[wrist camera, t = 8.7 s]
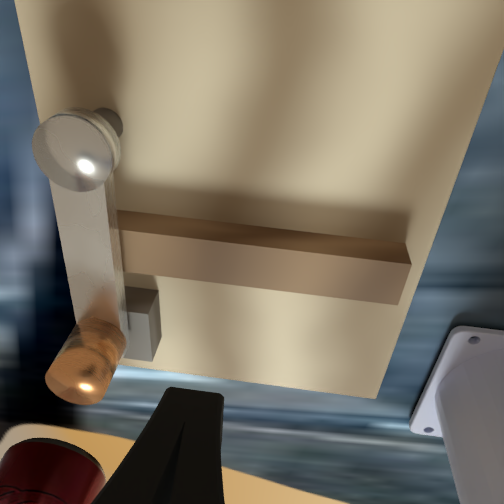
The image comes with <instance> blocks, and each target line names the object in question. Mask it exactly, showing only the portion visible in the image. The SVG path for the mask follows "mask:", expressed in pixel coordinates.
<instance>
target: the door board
mask: <svg viewBox="0 0 504 504" xmlns="http://www.w3.org/2000/svg"><path fill="white" fill-rule="evenodd" d="M15 5H16V10H17V15H18V20H19V24H20V29H21V34H22V39H23V44H24V48H25V53H26V58H27V63H28V68H29V72H30V77H31V82H32V87H33V92H34V96H35V101H36V106H37V111H38V116H39V120H40V124H42V123H43V122H44V121H46V120H47V119H49V118H50V117H52V116H53V115H55V114H56V113H57V112H59V111H61V110H63V109H65V108H69V107H81V108H86V109H89V110H91V111H94V112H96V113H97V114H99V115H100V116H102V117H103V118H104V119H105V120H106V121H107V122H108V123H109V124H110V125H111V126H112V127H113V129H114V130H115V132H116V134H117V136H118V138H119V141H120V145H121V158H120V162H119V164H118V166H117V168H116V169H115V170H114V171H113V176H114V186H115V197H116V207H117V217H118V227H119V238H120V248H121V258H122V268H123V279H124V289H125V299H126V309H127V320H128V330H129V340H130V345H129V347H128V349H127V351H126V354H125V356H124V358H121V359H120V362H119V365H126V366H134V367H141V368H149V369H156V370H163V371H171V372H178V373H186V374H193V375H201V376H208V377H216V378H223V379H230V380H238V381H245V382H253V383H260V384H268V385H275V386H283V387H290V388H297V389H305V390H312V391H320V392H327V393H335V394H342V395H349V396H357V397H364V398H372V399H376V397H377V394H378V391H379V388H380V386H381V383H382V380H383V377H384V375H385V372H386V369H387V366H388V364H389V361H390V358H391V356H392V353H393V350H394V347H395V345H396V342H397V339H398V336H399V334H400V331H401V328H402V325H403V323H404V320H405V317H406V315H407V312H408V309H409V306H410V304H411V301H412V298H413V295H414V293H415V290H416V287H417V284H418V282H419V279H420V276H421V274H422V271H423V268H424V265H425V263H426V260H427V257H428V254H429V252H430V249H431V246H432V243H433V241H434V238H435V235H436V233H437V230H438V227H439V224H440V222H441V219H442V216H443V213H444V211H445V208H446V205H447V203H448V200H449V197H450V194H451V192H452V189H453V186H454V183H455V181H456V178H457V175H458V172H459V170H460V167H461V164H462V162H463V159H464V156H465V153H466V151H467V148H468V145H469V142H470V140H471V137H472V134H473V131H474V129H475V126H476V123H477V121H478V118H479V115H480V112H481V110H482V107H483V104H484V101H485V99H486V96H487V93H488V90H489V88H490V85H491V82H492V80H493V77H494V74H495V71H496V69H497V66H498V63H499V60H500V58H501V55H502V52H503V49H504V0H15Z"/></svg>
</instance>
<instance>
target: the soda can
mask: <svg viewBox="0 0 504 504" xmlns="http://www.w3.org/2000/svg"><path fill="white" fill-rule="evenodd" d="M105 484H106V479H105V474H104V472H103V469H102V467H101V465H100V464H99V462H98V461H97V460H96V459H95V458H94V457H93V456H92V455H91V454H89V453H88V452H86V451H85V450H83V449H81V448H79V447H77V446H75V445H73V444H70V443H68V442H64V441H61V440H57V439H51V438H32V439H27V440H24V441H21V442H19V443H17V444H15V445H13V446H11V447H10V448H9V449H8V450H7V451H6V453H5V454H4V456H3V458H2V459H1V461H0V504H91V503H92V501H93V500H94V499H95V497H96V496H97V495H98V493H99V492H100V491H101V490H102V488H103V487H104V486H105Z"/></svg>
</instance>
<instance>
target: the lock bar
mask: <svg viewBox="0 0 504 504" xmlns="http://www.w3.org/2000/svg"><path fill="white" fill-rule="evenodd" d="M32 150H33V154H34V157H35V160H36V162H37V164H38V166H39V167H40V169H41V170H42V172H43V173H44V174H45V175H46V176H47V177H48V178H49V181H50V186H51V192H52V197H53V202H54V207H55V213H56V218H57V223H58V228H59V234H60V239H61V244H62V249H63V255H64V260H65V265H66V271H67V276H68V281H69V286H70V292H71V297H72V302H73V307H74V313H75V318H76V323H77V324H76V325H75V327H74V329H73V330H72V332H71V334H70V335H69V337H68V339H67V340H66V342H65V343H64V345H63V347H62V348H61V350H60V352H59V353H58V355H57V357H56V358H55V360H54V362H53V363H52V365H51V366H50V368H49V370H48V371H47V373H46V376H45V380H46V384H47V386H48V387H49V389H50V390H51V391H52V392H53V393H54V394H56V395H57V396H58V397H60V398H62V399H64V400H66V401H68V402H71V403H75V404H81V405H90V404H95V403H97V402H99V401H100V400H102V398H103V397H104V395H105V392H106V390H107V388H108V386H109V384H110V381H111V379H112V377H113V375H114V373H115V370H116V368H117V366H118V364H119V362H120V359H121V358H124V356H125V354H126V351H127V349H128V347H129V345H130V340H129V330H128V320H127V309H126V299H125V289H124V279H123V268H122V258H121V248H120V238H119V227H118V217H117V207H116V197H115V186H114V176H113V171H114V170H115V169H116V168H117V166H118V164H119V162H120V158H121V145H120V141H119V138H118V136H117V134H116V132H115V130H114V129H113V127H112V126H111V125H110V124H109V123H108V122H107V121H106V120H105V119H104V118H103V117H102V116H100V115H99V114H97V113H96V112H94V111H91V110H89V109H86V108H81V107H69V108H65V109H63V110H61V111H59V112H57V113H56V114H55V115H53V116H52V117H50V118H49V119H47V120H46V121H44V122H43V123H42V124H40V125H39V126H38V128H37V129H36V131H35V133H34V135H33V139H32Z"/></svg>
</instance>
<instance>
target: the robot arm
mask: <svg viewBox="0 0 504 504" xmlns="http://www.w3.org/2000/svg"><path fill="white" fill-rule="evenodd" d="M473 336H476V337H474V338H471V337H473ZM223 409H224V397H223V396H222V395H221V394H220V393H212V392H205V391H198V390H190V389H183V388H176V387H169V388H168V389H166V391H165V393H164V395H163V397H162V399H161V400H160V402H159V404H158V406H157V408H156V409H155V411H154V413H153V415H152V416H151V418H150V420H149V421H148V423H147V424H146V426H145V428H144V429H143V431H142V432H141V434H140V435H139V437H138V439H137V440H136V442H135V443H134V445H133V446H132V448H131V449H130V450H129V452H128V454H127V455H126V456H125V458H124V459H123V461H122V462H121V464H120V465H119V467H118V468H117V469H116V471H115V472H114V474H113V475H112V476H111V478H110V479H109V481H108V482H107V483H106V484H105V486H104V487H103V488H102V490H101V491H100V492H99V493H98V495H97V496H96V497H95V499H94V500H93V501H92V503H91V504H225V503H224V493H223V481H222V469H221V442H222V428H223ZM409 427H410V430H411V431H412V432H414V433H417V434H424V435H431V436H438V437H443V440H444V443H445V447H446V451H447V455H448V459H449V462H450V466H451V470H452V474H453V478H454V481H455V485H456V489H457V493H458V497H459V500H460V504H504V331H502V330H494V329H486V328H478V327H470V326H458V327H455V328H454V329H452V330H451V332H450V333H449V336H448V338H447V340H446V342H445V344H444V347H443V349H442V351H441V353H440V355H439V358H438V360H437V362H436V364H435V366H434V369H433V371H432V373H431V375H430V377H429V379H428V382H427V384H426V386H425V388H424V390H423V393H422V395H421V397H420V399H419V401H418V404H417V406H416V408H415V410H414V412H413V414H412V417H411V419H410V421H409Z"/></svg>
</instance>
